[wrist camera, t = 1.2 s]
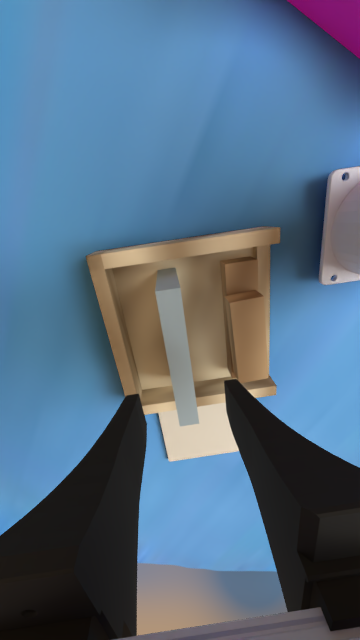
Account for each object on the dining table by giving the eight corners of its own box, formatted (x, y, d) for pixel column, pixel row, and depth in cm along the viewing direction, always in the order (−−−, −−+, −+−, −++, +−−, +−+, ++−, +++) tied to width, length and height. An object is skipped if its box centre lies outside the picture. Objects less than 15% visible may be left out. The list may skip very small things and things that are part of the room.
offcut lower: (250, 256, 19) (257, 259, 17) (252, 364, 23) (259, 374, 21) (220, 260, 19) (224, 264, 17) (227, 368, 23) (232, 378, 21)
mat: (244, 391, 25) (245, 393, 24) (246, 446, 28) (247, 449, 27) (157, 404, 25) (157, 407, 24) (169, 458, 28) (169, 461, 27)
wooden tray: (264, 226, 19) (280, 227, 16) (264, 375, 24) (276, 394, 21) (96, 251, 19) (85, 256, 16) (134, 395, 24) (131, 416, 21)
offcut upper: (255, 289, 18) (263, 296, 17) (261, 366, 21) (268, 378, 19) (224, 296, 18) (229, 302, 17) (233, 372, 21) (238, 383, 20)
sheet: (175, 267, 19) (180, 287, 13) (190, 373, 23) (199, 423, 17) (157, 270, 19) (155, 291, 13) (175, 375, 23) (179, 426, 17)
